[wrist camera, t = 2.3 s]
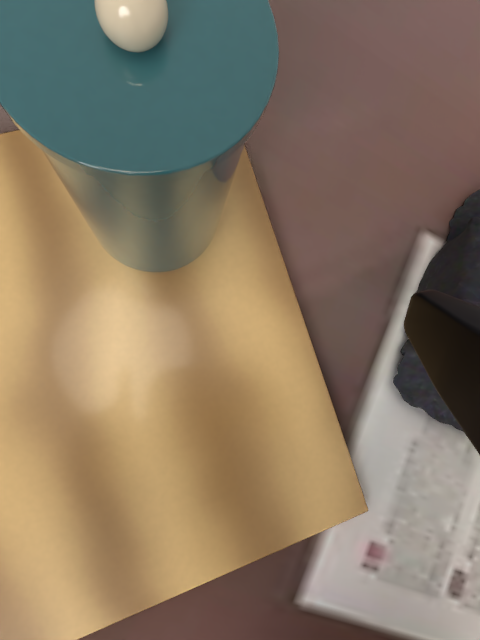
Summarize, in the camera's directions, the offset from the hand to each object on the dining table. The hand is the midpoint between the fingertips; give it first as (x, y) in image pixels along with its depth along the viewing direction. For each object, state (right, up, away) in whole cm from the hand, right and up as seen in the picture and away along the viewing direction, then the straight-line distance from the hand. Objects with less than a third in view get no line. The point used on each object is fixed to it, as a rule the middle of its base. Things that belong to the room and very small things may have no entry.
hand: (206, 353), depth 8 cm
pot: (-4, +6, +13) cm, 15 cm away
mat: (-8, -2, +12) cm, 15 cm away
